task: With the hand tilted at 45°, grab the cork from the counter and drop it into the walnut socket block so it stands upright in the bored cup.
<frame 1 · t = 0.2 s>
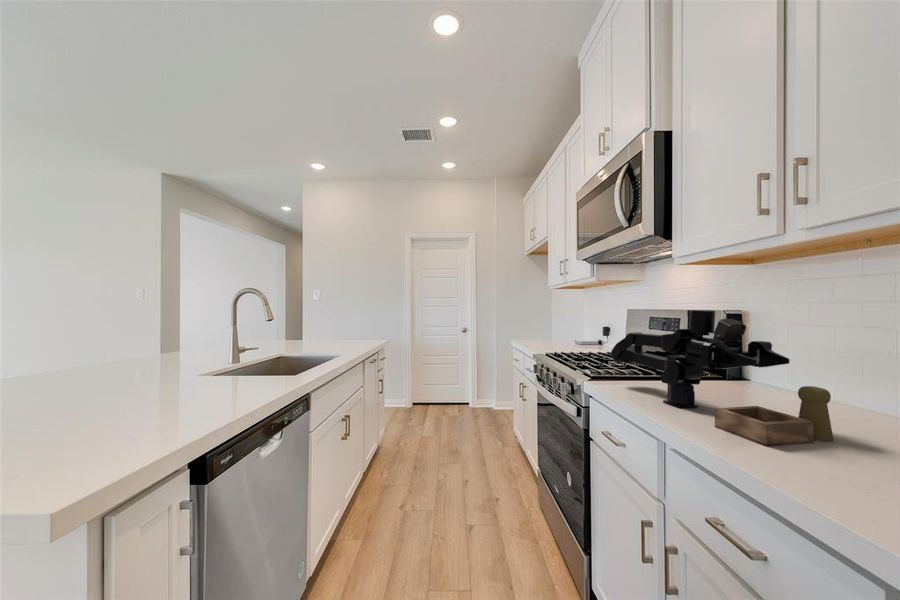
hand: (772, 361, 82), 17 cm above the worktop, tool horizontal, fingers open, 9 cm apart
socket block: (761, 434, 83), on the worktop
cork: (814, 437, 81), on the worktop
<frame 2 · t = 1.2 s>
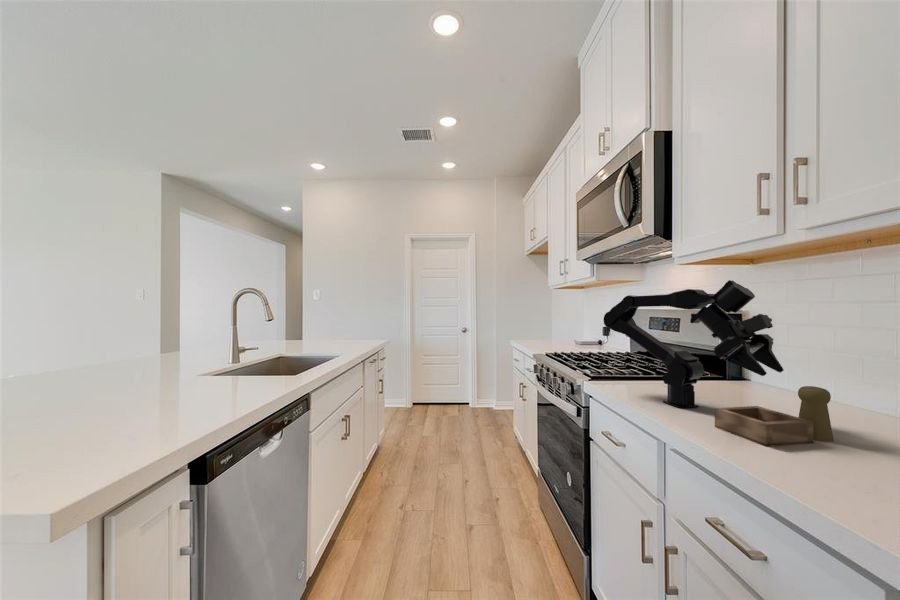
hand: (773, 373, 88), 13 cm above the worktop, tool tilted 45°, fingers open, 9 cm apart
nothing on the worktop moved.
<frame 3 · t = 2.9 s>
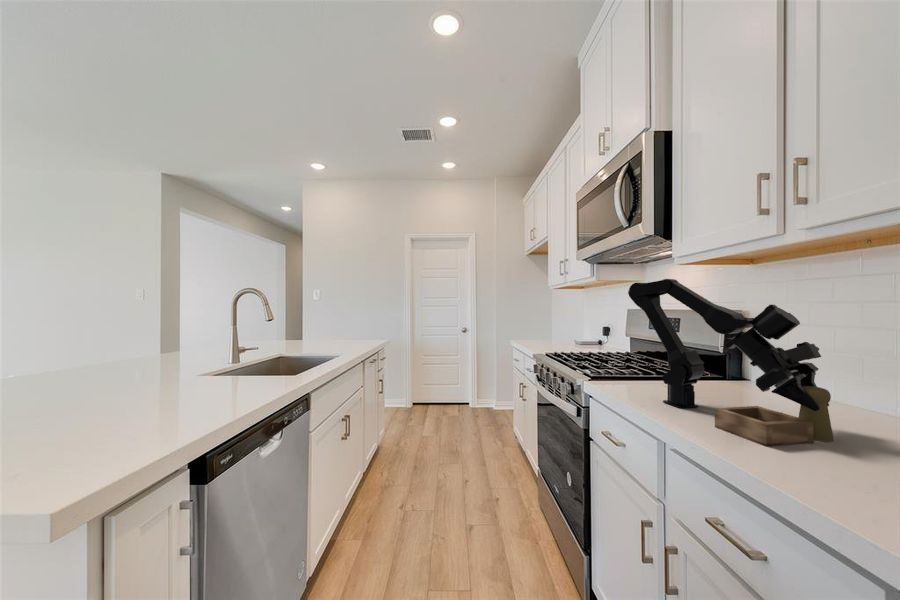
hand: (822, 408, 80), 7 cm above the worktop, tool tilted 45°, fingers closed on cork, 5 cm apart
cork: (814, 437, 81), on the worktop, touching gripper
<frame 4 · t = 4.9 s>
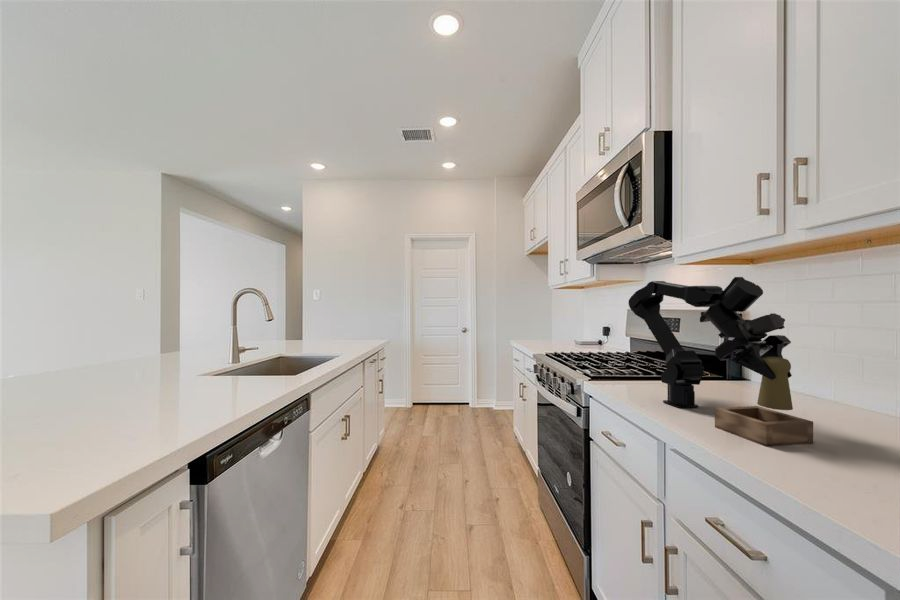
hand: (782, 377, 81), 13 cm above the worktop, tool tilted 45°, fingers closed on cork, 5 cm apart
cork: (774, 406, 82), point 6 cm above the worktop, touching gripper
when the fingers open (8 cm above the worktop, at t = 6.7 s): cork drops 1 cm, resting on socket block.
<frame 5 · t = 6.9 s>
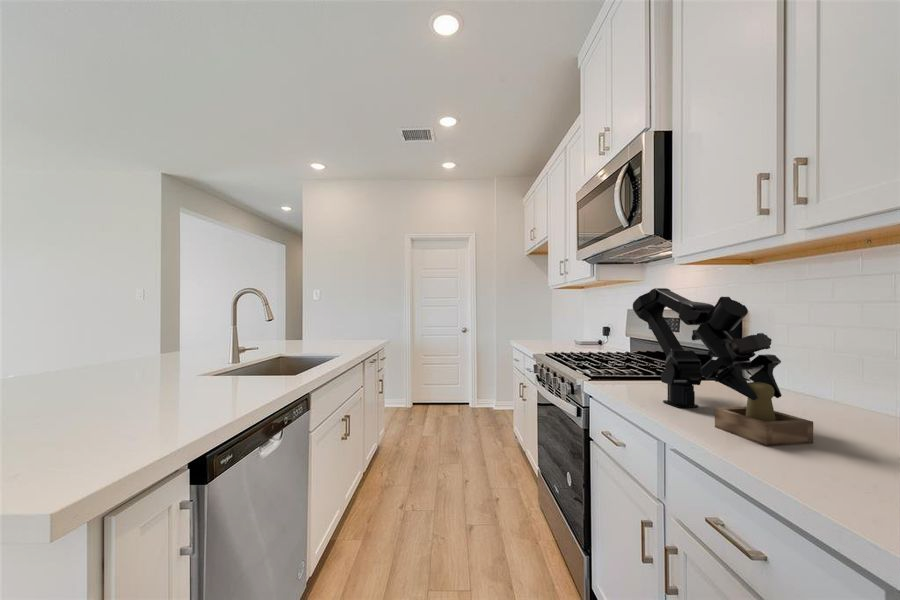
hand: (767, 398, 81), 9 cm above the worktop, tool tilted 45°, fingers open, 7 cm apart
cork: (761, 432, 83), resting on socket block
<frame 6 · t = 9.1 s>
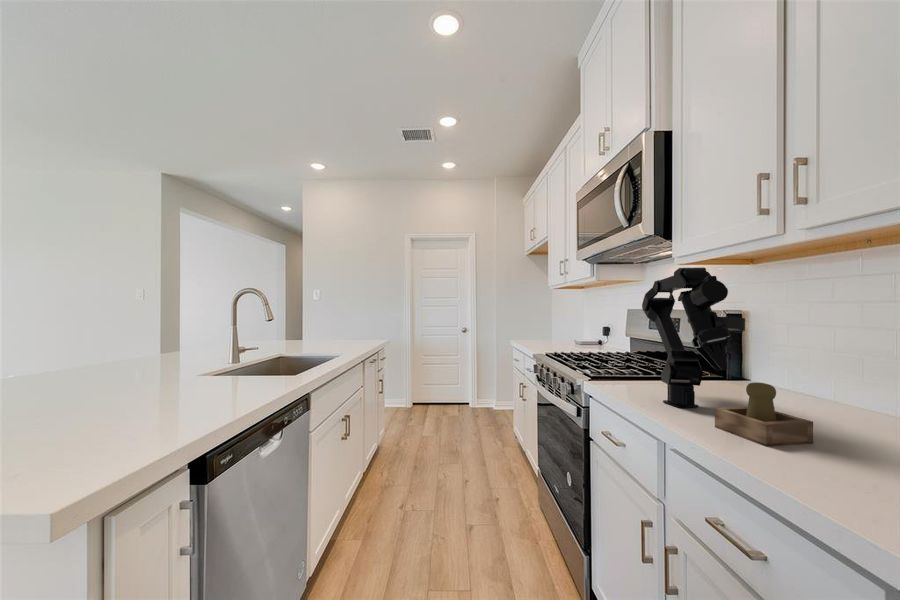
hand: (721, 370, 93), 13 cm above the worktop, tool tilted 20°, fingers open, 9 cm apart
nothing on the worktop moved.
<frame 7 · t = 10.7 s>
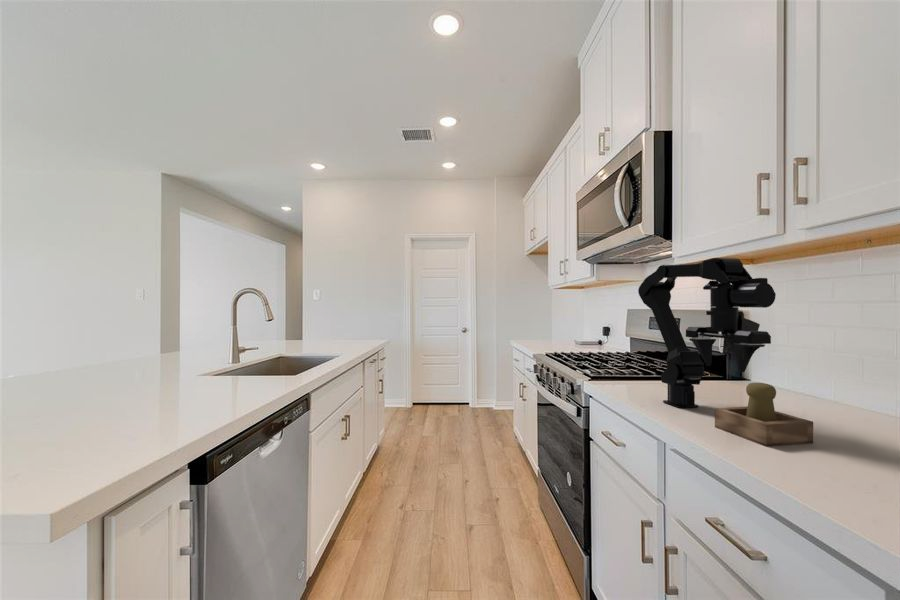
hand: (724, 368, 93), 13 cm above the worktop, tool pointing down, fingers open, 9 cm apart
nothing on the worktop moved.
at the end: cork 0.1 cm off-centre on the socket block, point 0.3 cm above the socket block's base; cork tilted 0°; the gripper is holding nothing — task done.
